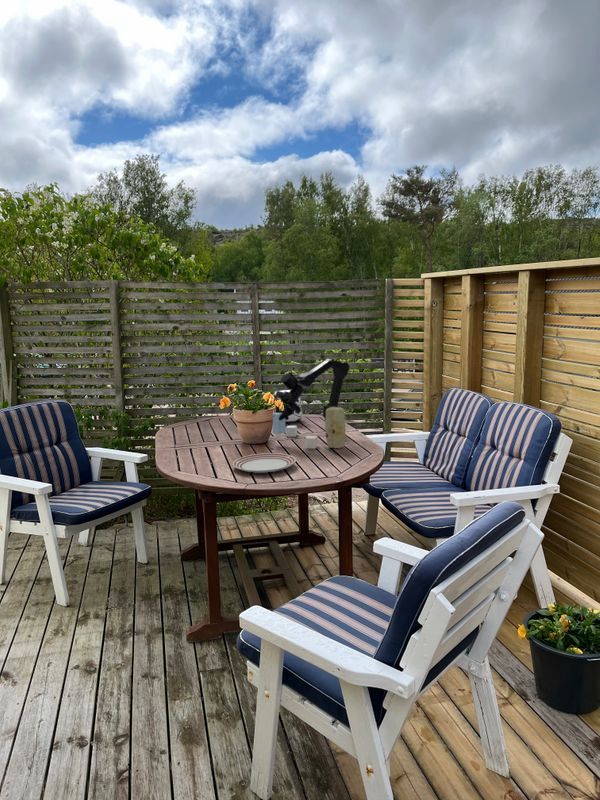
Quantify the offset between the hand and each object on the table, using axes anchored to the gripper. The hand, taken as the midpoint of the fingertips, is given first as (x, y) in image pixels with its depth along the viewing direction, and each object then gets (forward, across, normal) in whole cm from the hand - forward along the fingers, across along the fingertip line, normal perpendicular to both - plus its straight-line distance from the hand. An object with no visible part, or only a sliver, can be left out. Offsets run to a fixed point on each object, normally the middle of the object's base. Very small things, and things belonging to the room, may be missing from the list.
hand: (276, 419), depth 293 cm
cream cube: (+2, +15, +16) cm, 22 cm away
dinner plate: (+29, +31, -10) cm, 43 cm away
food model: (-4, +24, +22) cm, 33 cm away
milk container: (-17, -45, +36) cm, 60 cm away
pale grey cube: (-3, -12, +22) cm, 25 cm away
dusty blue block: (+4, 0, +6) cm, 7 cm away
